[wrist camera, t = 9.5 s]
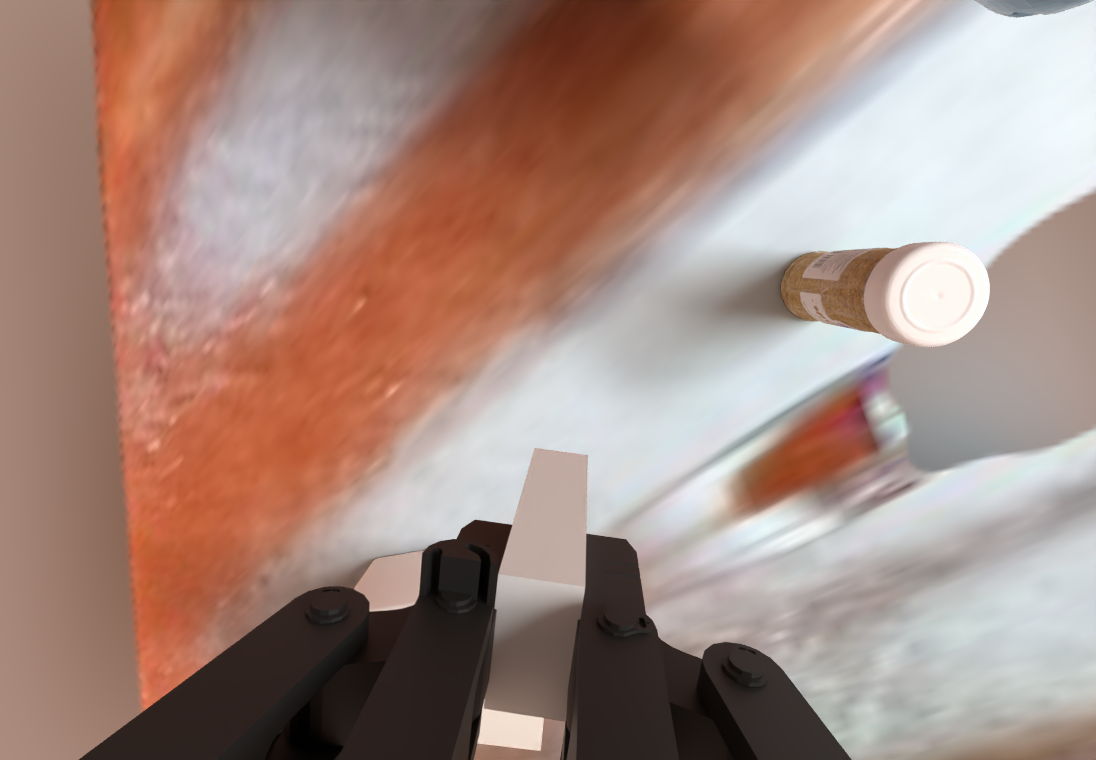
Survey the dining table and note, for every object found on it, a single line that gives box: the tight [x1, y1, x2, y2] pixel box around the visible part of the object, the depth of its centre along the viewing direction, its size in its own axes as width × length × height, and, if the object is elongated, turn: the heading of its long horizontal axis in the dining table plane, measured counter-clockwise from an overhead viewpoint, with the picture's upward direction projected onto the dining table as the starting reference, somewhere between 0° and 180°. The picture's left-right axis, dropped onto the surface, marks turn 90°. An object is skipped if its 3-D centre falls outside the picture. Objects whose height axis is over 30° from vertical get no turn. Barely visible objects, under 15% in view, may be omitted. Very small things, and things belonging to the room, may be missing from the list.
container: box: [354, 550, 425, 612], centre depth 38 cm, size 8×8×13 cm
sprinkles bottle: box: [781, 242, 990, 347], centre depth 31 cm, size 5×5×14 cm
